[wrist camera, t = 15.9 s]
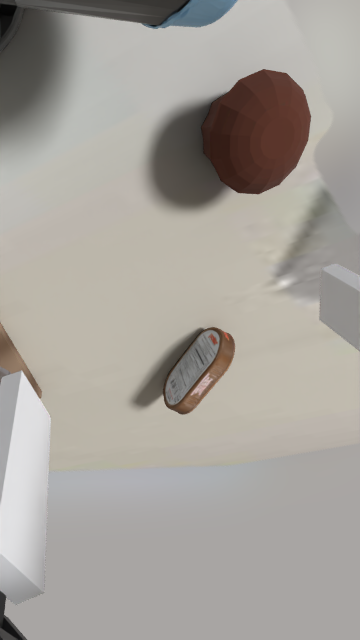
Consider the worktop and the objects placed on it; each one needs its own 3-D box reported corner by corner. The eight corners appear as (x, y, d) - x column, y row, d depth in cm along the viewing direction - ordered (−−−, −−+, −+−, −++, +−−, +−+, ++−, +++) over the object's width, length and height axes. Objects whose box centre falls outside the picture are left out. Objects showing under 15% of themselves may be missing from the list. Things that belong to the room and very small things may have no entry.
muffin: (243, 49, 37) (294, 30, 29) (293, 131, 43) (348, 134, 35) (169, 137, 40) (198, 142, 31) (227, 203, 46) (264, 223, 37)
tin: (169, 390, 59) (183, 427, 52) (154, 385, 58) (167, 421, 51) (222, 323, 55) (246, 353, 48) (208, 315, 54) (230, 344, 47)
